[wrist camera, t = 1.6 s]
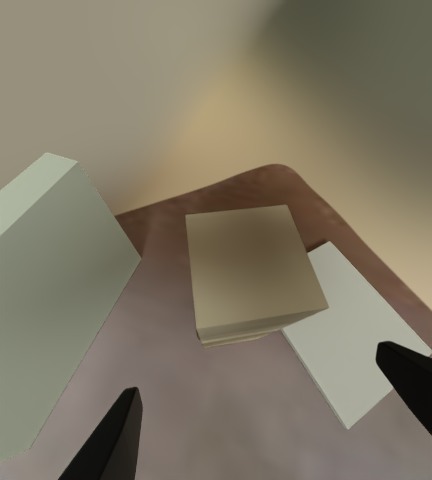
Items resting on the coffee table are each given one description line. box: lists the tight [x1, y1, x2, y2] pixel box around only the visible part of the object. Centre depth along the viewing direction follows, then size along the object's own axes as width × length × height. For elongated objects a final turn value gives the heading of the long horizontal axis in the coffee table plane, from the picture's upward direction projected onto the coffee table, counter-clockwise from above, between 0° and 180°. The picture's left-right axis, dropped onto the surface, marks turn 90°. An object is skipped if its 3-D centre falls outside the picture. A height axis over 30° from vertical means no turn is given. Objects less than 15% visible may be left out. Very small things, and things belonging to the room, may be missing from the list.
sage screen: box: [0, 152, 142, 463], centre depth 13 cm, size 2×15×12 cm, turn 160°
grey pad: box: [280, 241, 432, 429], centre depth 19 cm, size 12×10×1 cm
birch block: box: [185, 205, 330, 348], centre depth 13 cm, size 4×5×12 cm
